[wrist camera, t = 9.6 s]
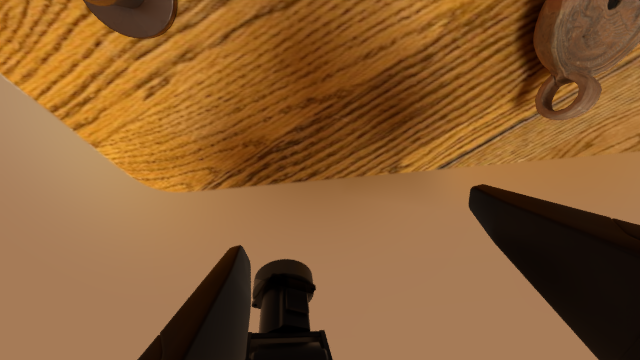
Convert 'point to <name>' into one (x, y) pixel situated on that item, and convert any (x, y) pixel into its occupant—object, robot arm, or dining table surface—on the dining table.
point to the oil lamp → (582, 47)
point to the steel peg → (135, 16)
